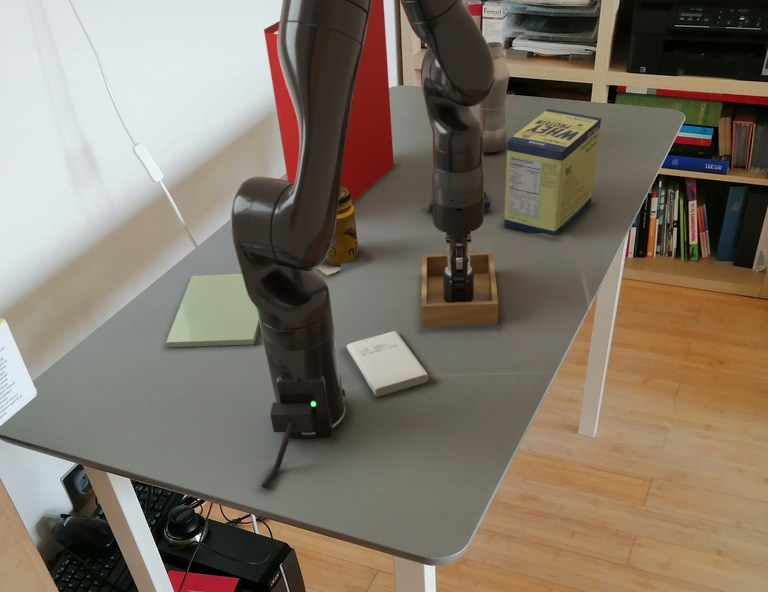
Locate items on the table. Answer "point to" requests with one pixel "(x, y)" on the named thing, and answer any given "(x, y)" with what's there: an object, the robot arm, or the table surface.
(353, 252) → the condiment
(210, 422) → the table surface
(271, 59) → the book
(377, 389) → the hard drive
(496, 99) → the plastic bottle
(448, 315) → the bento box
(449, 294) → the sushi roll
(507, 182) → the protein box
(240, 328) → the sushi plate
